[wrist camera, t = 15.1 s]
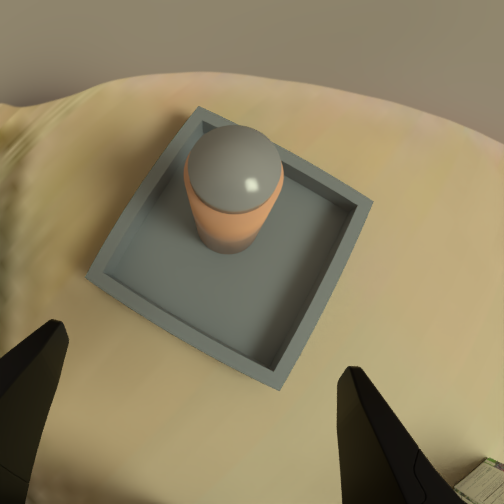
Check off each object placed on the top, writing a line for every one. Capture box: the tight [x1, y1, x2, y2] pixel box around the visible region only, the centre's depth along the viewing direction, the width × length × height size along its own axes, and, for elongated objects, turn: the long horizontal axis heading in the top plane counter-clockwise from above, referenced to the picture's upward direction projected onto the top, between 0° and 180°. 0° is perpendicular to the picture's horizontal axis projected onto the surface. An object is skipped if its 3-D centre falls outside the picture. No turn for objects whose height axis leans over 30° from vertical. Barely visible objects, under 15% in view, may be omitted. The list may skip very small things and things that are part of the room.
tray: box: [85, 106, 373, 391], centre depth 22 cm, size 15×15×2 cm
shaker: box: [184, 125, 284, 255], centre depth 18 cm, size 4×4×10 cm
